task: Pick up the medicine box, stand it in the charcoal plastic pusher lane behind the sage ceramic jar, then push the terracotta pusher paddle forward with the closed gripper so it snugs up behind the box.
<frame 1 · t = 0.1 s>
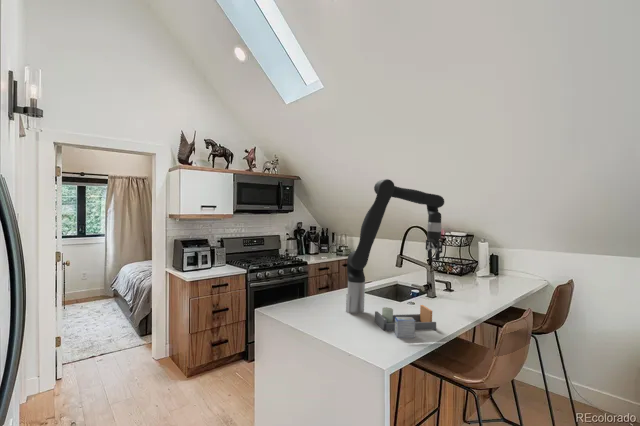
hand: (433, 259, 185), 29 cm above the countertop, tool pointing down, fingers open, 8 cm apart
medicine box: (404, 338, 144), on the countertop
pusher lane: (404, 326, 158), on the countertop
pusher paddle: (425, 315, 160), point 5 cm above the countertop, slide at 0.0 cm
sage jar: (387, 325, 157), point 1 cm above the countertop, touching pusher lane
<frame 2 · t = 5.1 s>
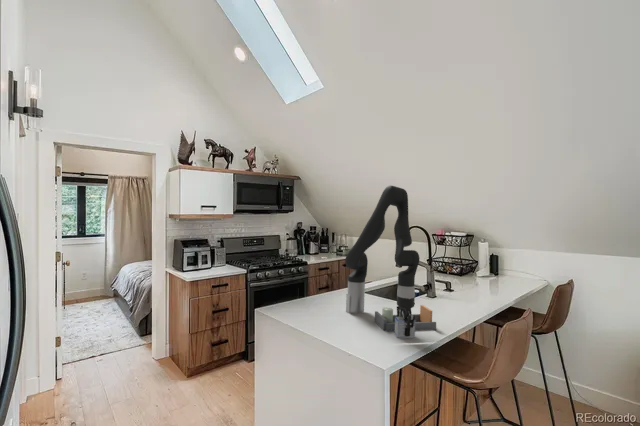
hand: (404, 333, 144), 2 cm above the countertop, tool pointing down, fingers closed on medicine box, 4 cm apart
medicine box: (404, 338, 144), on the countertop, touching gripper
everything else where it was.
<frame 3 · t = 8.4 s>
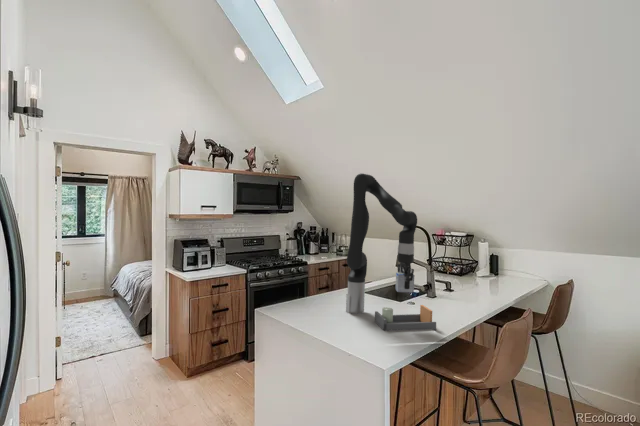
hand: (404, 287, 158), 19 cm above the countertop, tool pointing down, fingers closed on medicine box, 4 cm apart
medicine box: (404, 291, 158), point 17 cm above the countertop, touching gripper
everything else where it was.
when the fingers open (4 cm above the countertop, at t = 11.6 s): medicine box drops 1 cm, resting on pusher lane.
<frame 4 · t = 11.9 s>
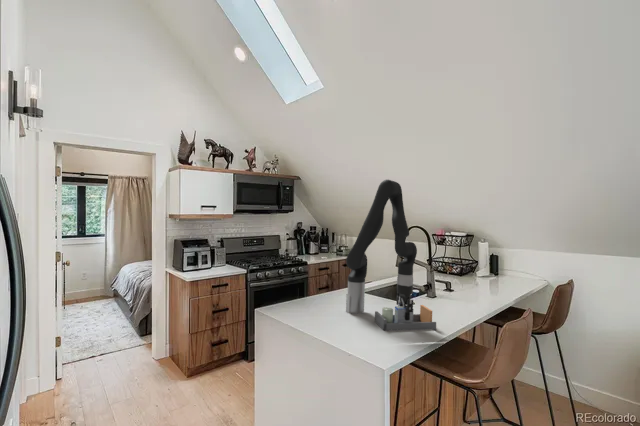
hand: (403, 317, 158), 5 cm above the countertop, tool pointing down, fingers open, 6 cm apart
medicine box: (403, 325, 158), point 1 cm above the countertop, touching pusher lane
everything else where it was.
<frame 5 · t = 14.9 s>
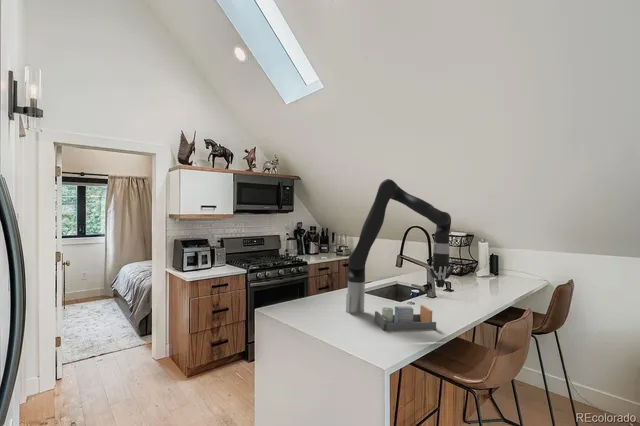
hand: (440, 287, 161), 19 cm above the countertop, tool pointing down, fingers closed
nothing on the countertop moved.
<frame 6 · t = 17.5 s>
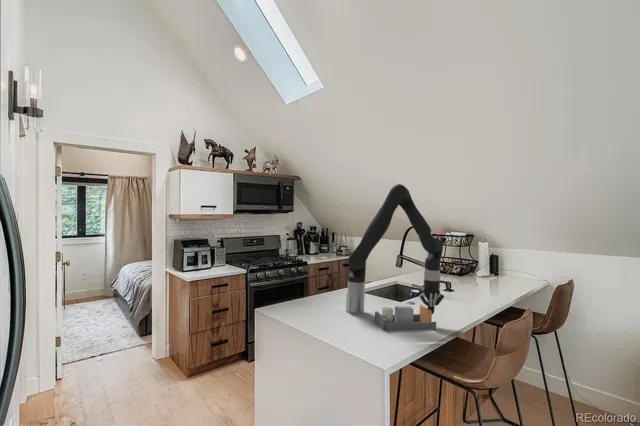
hand: (430, 313, 161), 6 cm above the countertop, tool pointing down, fingers closed
pusher paddle: (425, 315, 160), point 5 cm above the countertop, slide at 0.3 cm, touching gripper
everything else where it was.
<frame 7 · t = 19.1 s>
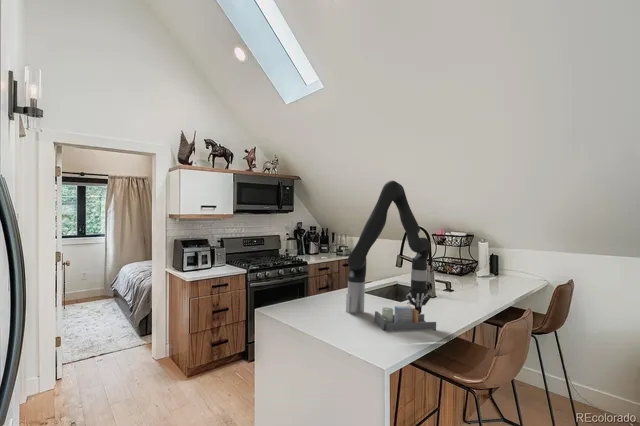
hand: (417, 313, 159), 6 cm above the countertop, tool pointing down, fingers closed
pusher paddle: (412, 316, 159), point 5 cm above the countertop, slide at 7.1 cm, touching gripper
everything else where it was.
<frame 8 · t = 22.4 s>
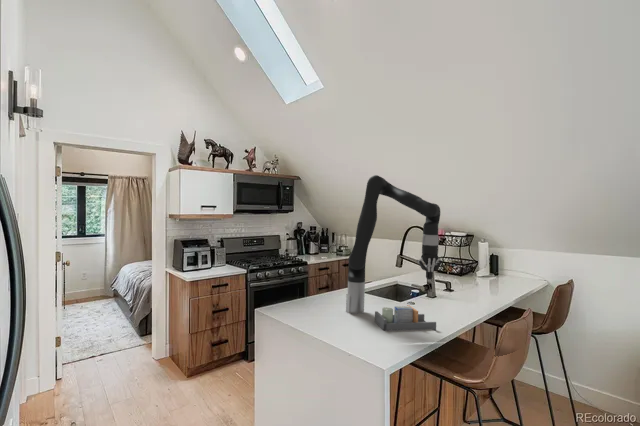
hand: (429, 279, 160), 23 cm above the countertop, tool pointing down, fingers closed
pusher paddle: (412, 316, 159), point 5 cm above the countertop, slide at 7.2 cm
everything else where it was.
at the end: medicine box inside the target area (1.2 cm from its centre), point 0.6 cm above the countertop; pusher paddle slide at 7.2 cm; medicine box tilted 0° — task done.
